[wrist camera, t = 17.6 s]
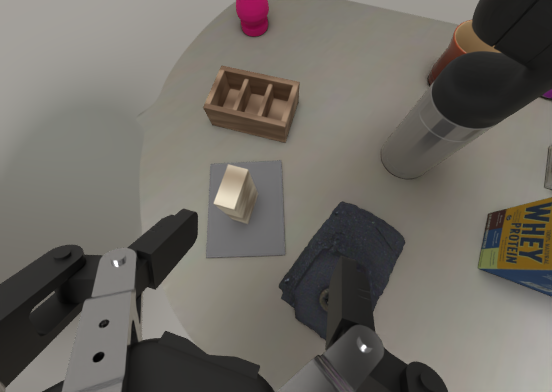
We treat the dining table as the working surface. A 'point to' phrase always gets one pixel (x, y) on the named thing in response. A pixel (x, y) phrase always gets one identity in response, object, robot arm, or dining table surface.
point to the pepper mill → (253, 16)
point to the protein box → (520, 245)
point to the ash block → (237, 194)
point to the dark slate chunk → (325, 254)
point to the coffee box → (549, 170)
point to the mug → (459, 48)
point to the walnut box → (252, 103)
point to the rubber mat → (264, 219)
